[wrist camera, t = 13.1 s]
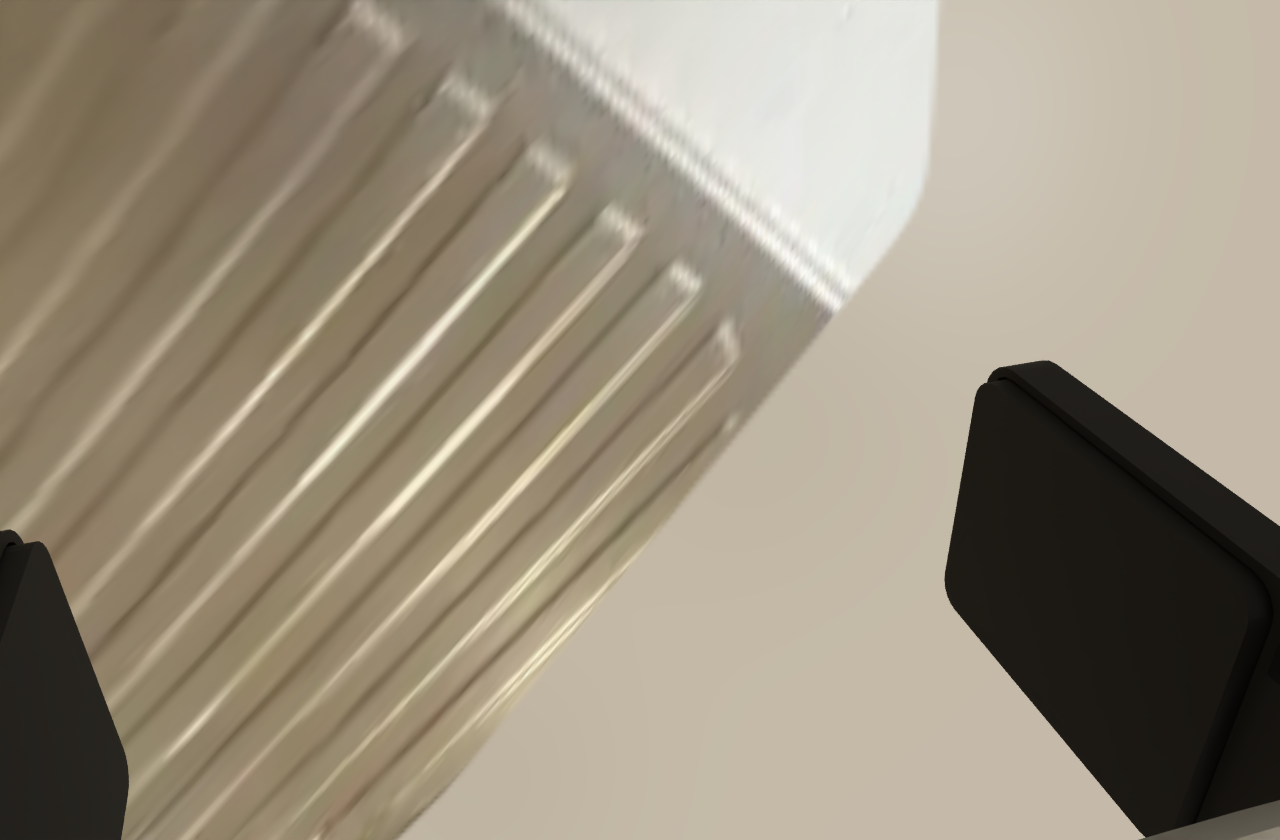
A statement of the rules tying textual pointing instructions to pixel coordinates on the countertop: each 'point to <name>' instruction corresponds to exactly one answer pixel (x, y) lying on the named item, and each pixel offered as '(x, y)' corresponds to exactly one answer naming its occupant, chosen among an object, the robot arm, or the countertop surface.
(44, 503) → the countertop surface
